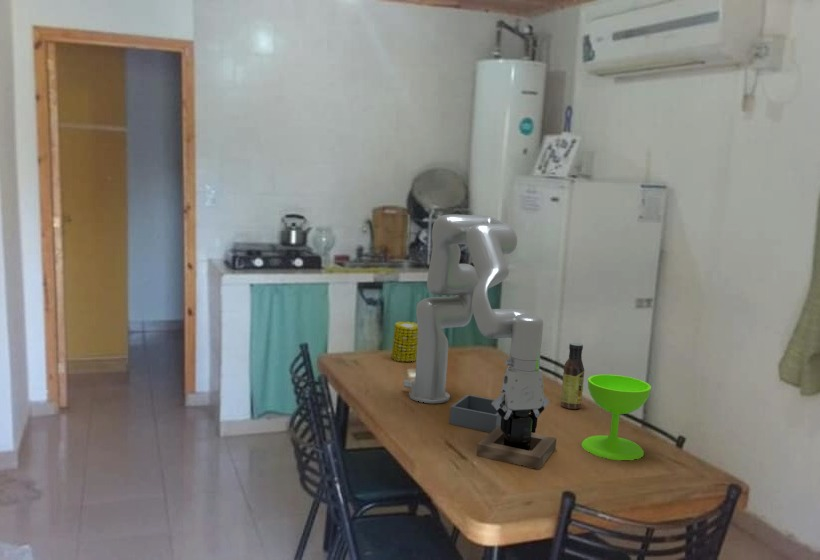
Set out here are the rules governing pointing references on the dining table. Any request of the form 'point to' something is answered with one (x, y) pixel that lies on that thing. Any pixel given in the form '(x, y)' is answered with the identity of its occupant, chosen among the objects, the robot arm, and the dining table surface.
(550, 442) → the socket block
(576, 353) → the sauce bottle
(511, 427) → the supplement bottle
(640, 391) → the wineglass
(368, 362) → the dining table surface
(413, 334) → the food
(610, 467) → the dining table surface
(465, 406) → the bin
